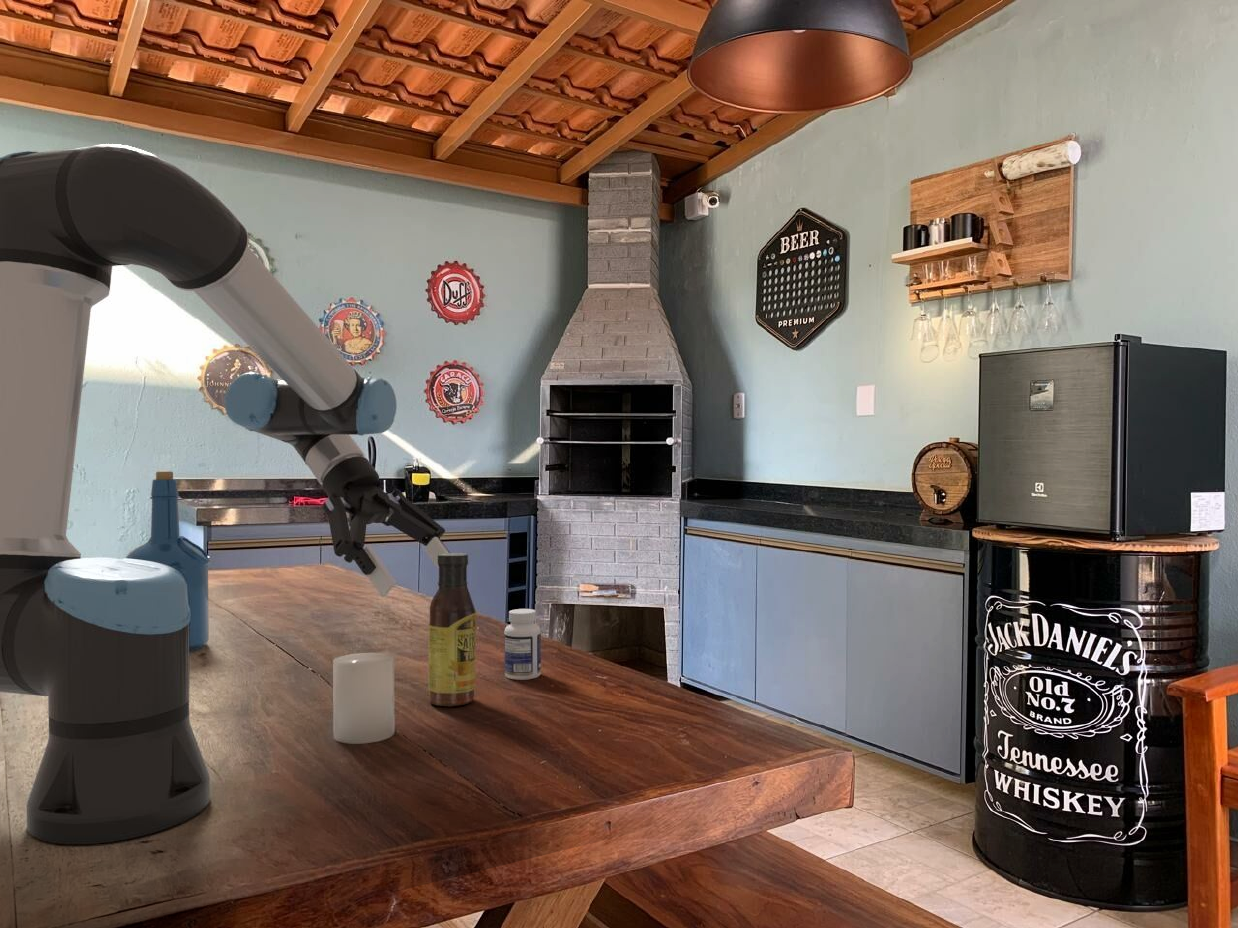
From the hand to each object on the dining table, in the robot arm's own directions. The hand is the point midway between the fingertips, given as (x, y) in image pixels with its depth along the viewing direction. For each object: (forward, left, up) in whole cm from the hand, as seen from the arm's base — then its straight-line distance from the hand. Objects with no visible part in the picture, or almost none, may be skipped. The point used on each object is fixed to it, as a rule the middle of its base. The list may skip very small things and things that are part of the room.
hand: (423, 583), depth 129 cm
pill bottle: (+2, -16, -16) cm, 22 cm away
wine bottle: (+49, +28, -16) cm, 59 cm away
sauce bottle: (-6, -2, -16) cm, 17 cm away
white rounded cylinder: (-14, +12, -15) cm, 24 cm away
